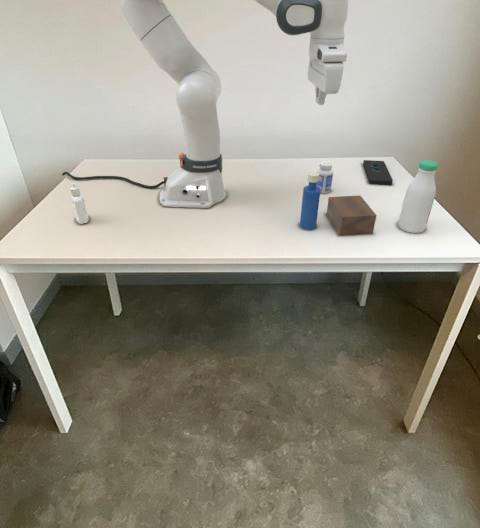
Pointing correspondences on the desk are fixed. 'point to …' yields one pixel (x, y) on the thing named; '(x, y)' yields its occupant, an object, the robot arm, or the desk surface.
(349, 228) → the wooden box
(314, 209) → the bottle
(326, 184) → the pill bottle
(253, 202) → the desk surface
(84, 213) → the eye dropper bottle
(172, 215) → the desk surface
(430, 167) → the milk bottle
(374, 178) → the smart home device
